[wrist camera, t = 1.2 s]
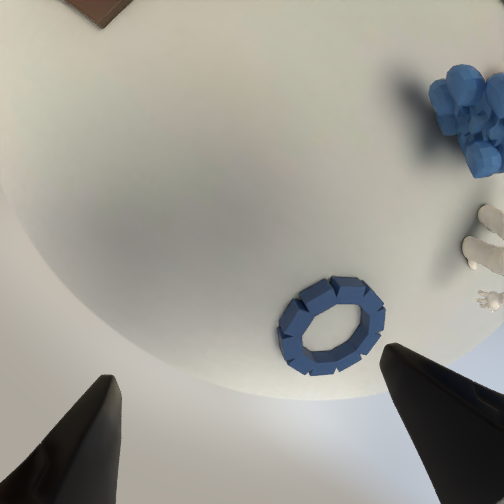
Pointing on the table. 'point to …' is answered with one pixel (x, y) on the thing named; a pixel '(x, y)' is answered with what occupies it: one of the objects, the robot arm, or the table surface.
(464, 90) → the grapes
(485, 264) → the toy creature
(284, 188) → the table surface
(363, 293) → the ring
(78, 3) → the post
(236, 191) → the table surface
